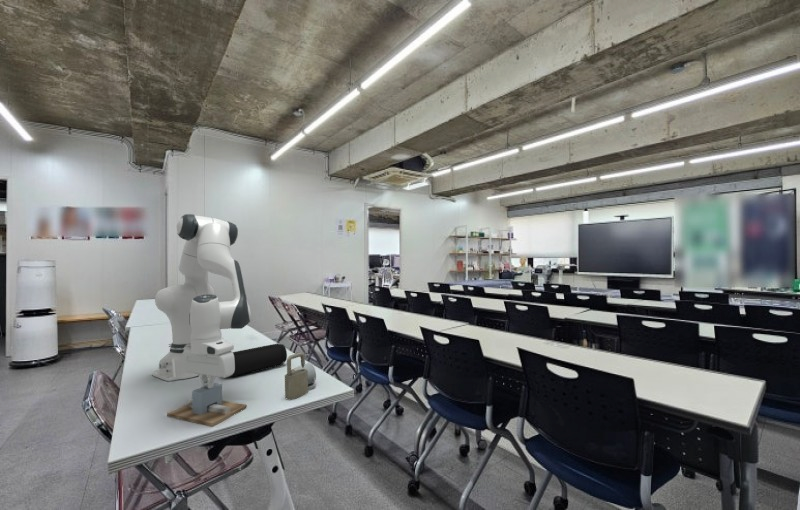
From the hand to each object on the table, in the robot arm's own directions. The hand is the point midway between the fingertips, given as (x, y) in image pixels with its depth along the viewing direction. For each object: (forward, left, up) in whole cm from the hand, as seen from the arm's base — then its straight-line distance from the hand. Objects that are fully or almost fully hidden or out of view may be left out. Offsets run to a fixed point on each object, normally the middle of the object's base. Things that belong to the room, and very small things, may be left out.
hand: (208, 387), depth 113 cm
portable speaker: (-16, +37, -8) cm, 41 cm away
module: (0, 0, -7) cm, 7 cm away
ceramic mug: (+16, +29, -8) cm, 34 cm away
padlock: (+19, +20, -8) cm, 29 cm away
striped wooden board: (0, 0, -8) cm, 8 cm away
